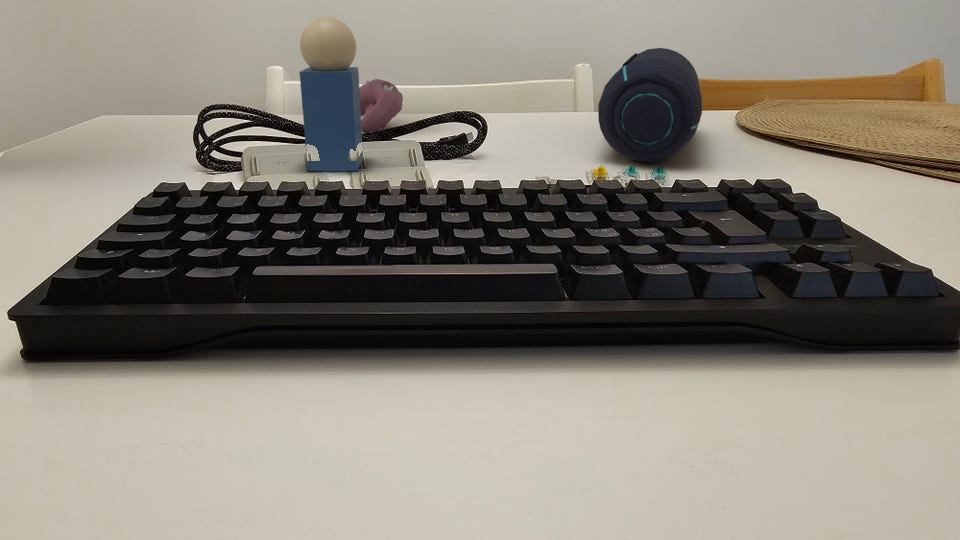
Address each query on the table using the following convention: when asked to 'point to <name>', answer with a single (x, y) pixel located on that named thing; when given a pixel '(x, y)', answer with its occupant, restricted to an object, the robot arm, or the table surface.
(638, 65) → the portable speaker
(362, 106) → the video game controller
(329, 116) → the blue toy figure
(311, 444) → the table surface
